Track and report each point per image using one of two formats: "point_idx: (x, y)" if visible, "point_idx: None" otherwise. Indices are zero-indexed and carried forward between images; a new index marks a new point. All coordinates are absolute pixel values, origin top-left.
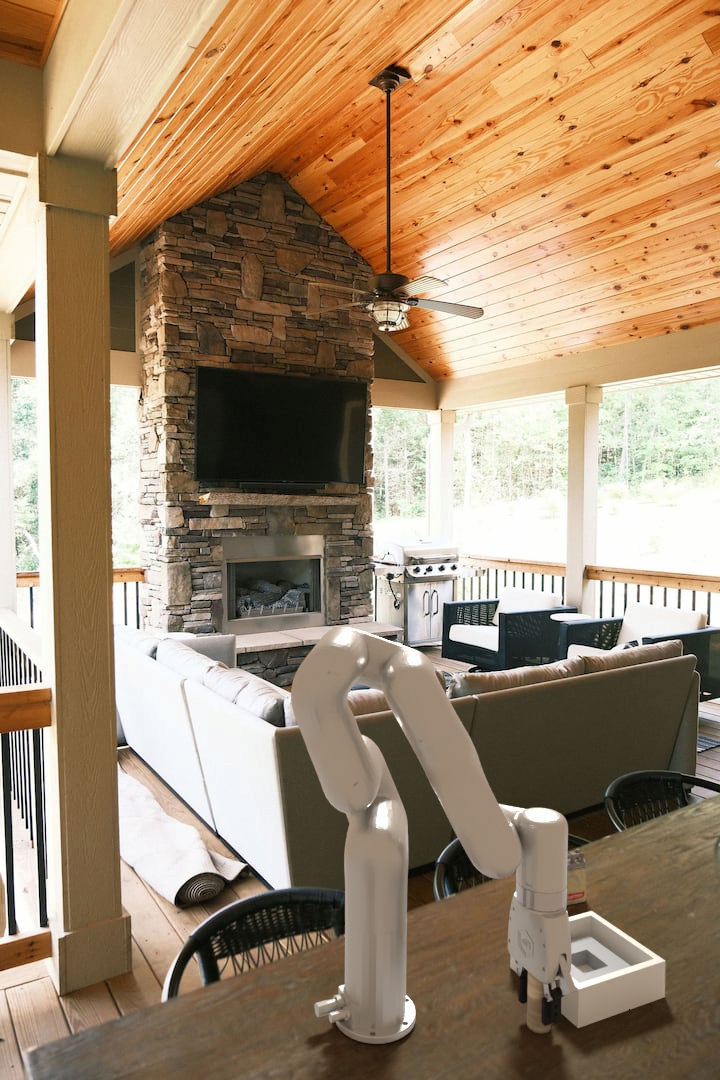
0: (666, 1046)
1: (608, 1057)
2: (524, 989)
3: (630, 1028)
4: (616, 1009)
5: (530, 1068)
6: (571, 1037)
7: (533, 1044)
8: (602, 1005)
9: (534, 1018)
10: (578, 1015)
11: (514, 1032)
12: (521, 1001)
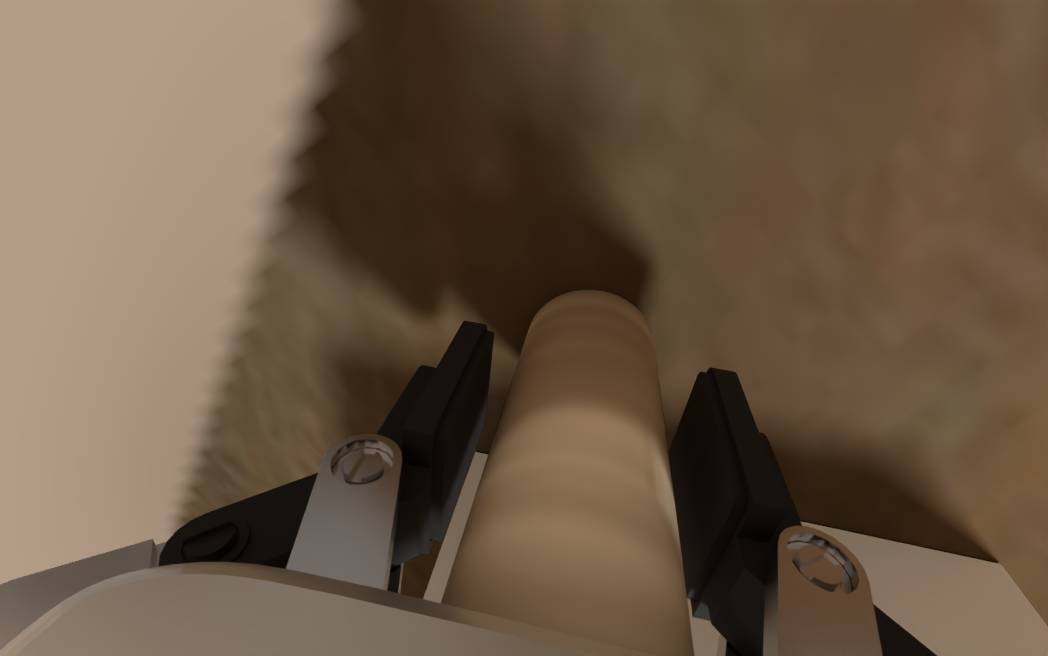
0: None
1: (294, 407)
2: (709, 448)
3: None
4: None
5: (350, 37)
6: None
7: (498, 213)
8: None
9: (560, 329)
10: (459, 497)
11: (634, 197)
12: (705, 375)
